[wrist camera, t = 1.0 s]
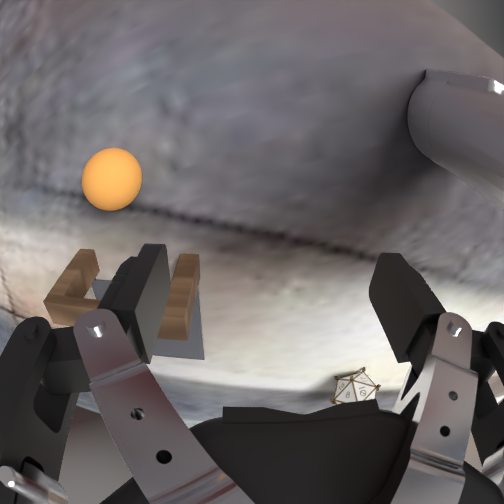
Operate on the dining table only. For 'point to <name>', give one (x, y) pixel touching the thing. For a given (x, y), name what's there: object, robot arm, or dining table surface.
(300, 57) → the dining table surface
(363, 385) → the game die
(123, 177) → the ball
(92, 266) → the bridge
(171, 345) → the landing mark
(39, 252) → the dining table surface
